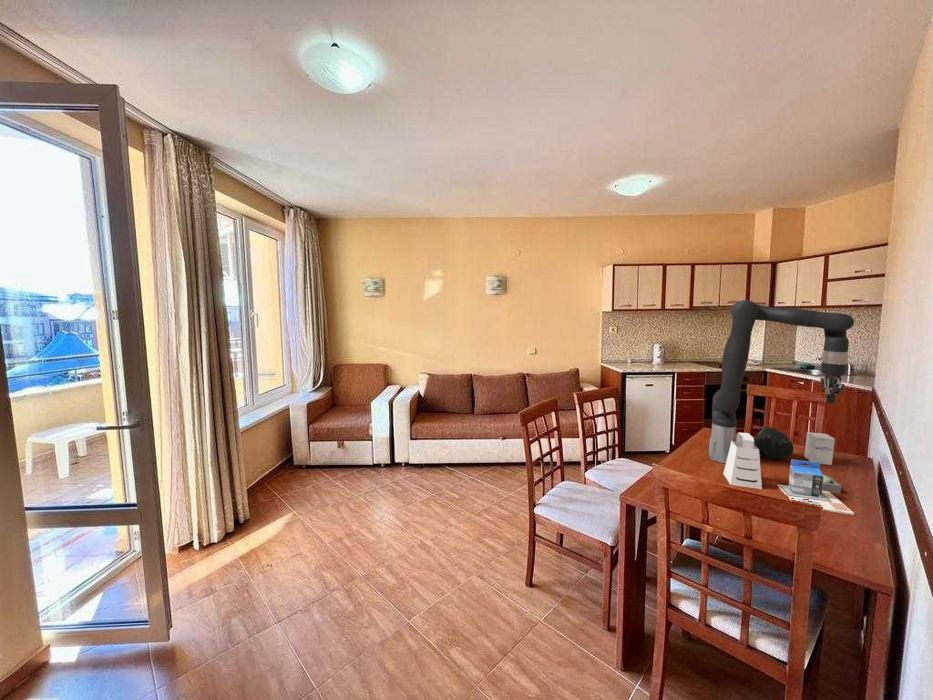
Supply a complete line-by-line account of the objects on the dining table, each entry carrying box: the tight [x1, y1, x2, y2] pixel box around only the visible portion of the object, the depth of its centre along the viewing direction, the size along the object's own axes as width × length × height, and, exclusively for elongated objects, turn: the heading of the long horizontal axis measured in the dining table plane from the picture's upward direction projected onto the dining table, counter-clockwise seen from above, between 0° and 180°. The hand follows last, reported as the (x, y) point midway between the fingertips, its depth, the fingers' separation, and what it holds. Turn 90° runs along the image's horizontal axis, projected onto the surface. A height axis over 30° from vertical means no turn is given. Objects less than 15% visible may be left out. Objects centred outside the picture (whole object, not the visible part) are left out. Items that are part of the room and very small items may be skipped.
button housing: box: [822, 476, 842, 494], centre depth 145 cm, size 8×8×3 cm
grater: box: [723, 432, 763, 490], centre depth 150 cm, size 10×10×20 cm
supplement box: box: [804, 431, 836, 466], centre depth 168 cm, size 7×7×13 cm
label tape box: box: [788, 459, 824, 497], centre depth 139 cm, size 9×4×12 cm, turn 65°
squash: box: [753, 426, 794, 460], centre depth 174 cm, size 14×15×15 cm
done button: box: [822, 473, 832, 483], centre depth 145 cm, size 4×4×4 cm
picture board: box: [777, 484, 855, 516], centre depth 136 cm, size 16×16×1 cm
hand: (829, 403), depth 151 cm, fingers closed
